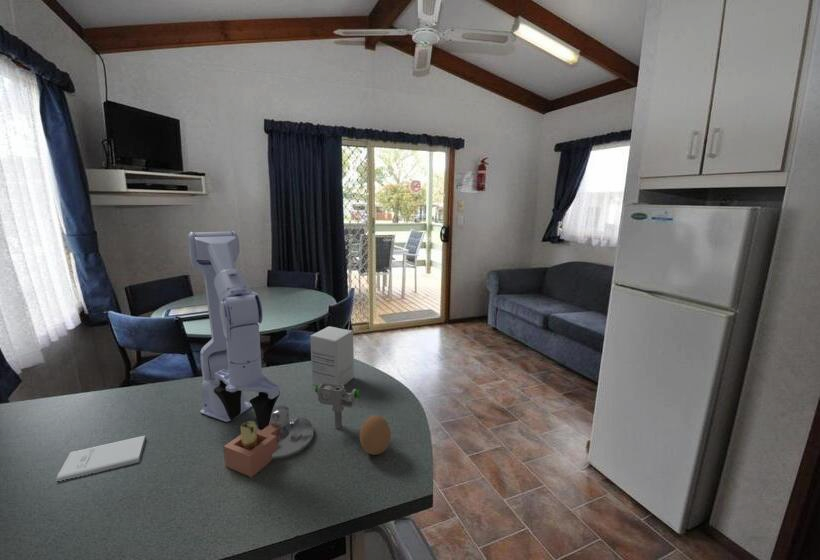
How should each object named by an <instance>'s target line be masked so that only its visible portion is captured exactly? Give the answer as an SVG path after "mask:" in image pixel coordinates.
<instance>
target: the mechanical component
mask: <svg viewBox="0 0 820 560" xmlns="http://www.w3.org/2000/svg"><path fill="white" fill-rule="evenodd" d="M332 387H333V388H334V389H333V388H332ZM314 391H315V393H317V400H318V401H319V403H320V404H323V405H327V406H329V405H330V406H332V408H331V410H332V411H333V412H334V428H335V430H339V429H341V427H342V425H343V423H342V422H343V416H342V414H343V413H342V411H344V409H345V408H352V407H353V406H354V405H355V403H356V401H358V399H359V398H360V396H361V391H360V390H358V389H357V388H353V389H352V391H351V392H348V391H346V388H345V385H344V386H343V385H337V384H329V383H322V384H321V385H320V386H318V385H315V389H314Z"/></svg>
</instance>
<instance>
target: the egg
mask: <svg viewBox="0 0 820 560" xmlns="http://www.w3.org/2000/svg"><path fill="white" fill-rule="evenodd" d="M359 431H360V432H359V443H360V446H361V447H362V449H363V450H364V451H365V452H366V453H367V454H370V455H373V456H377V455H380V454H382V453H384V452H385V451H386V450H387V448H388V447H389V446H390V443H391V436H392V433H391V429H390V426H389V423H388V422H387V420H386V419H385V418H384V417H383V416H381V415H376V414H375V415H371V416H369V417H368V418H366V419H365V421H364V422H363V423H362V425H361V428H360V430H359Z"/></svg>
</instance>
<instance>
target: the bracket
mask: <svg viewBox="0 0 820 560" xmlns="http://www.w3.org/2000/svg"><path fill="white" fill-rule="evenodd" d="M256 431H257V446H256V447H255V448H253V449H252V450H251V451H249V450H247V449H244V448H242V440H241V434H239V435H237V436H236V438H234V439H232V440H231V441H229V442H228V443H226V444H225V445H223V451H224V462H225V467H226V468H228V469H230V470H233V471H236V472H238V473H240V474H243V475H246V476H247V477H251V478H253V477H254V476H256V474H258V473H259V472H260V471H261V470H262V469H263V468H265V467H266V466H267V465H268V464H269V463H271V461H273V460H272V454H273V453H275V452H276V451H277V442H278V441H279V440H280V439H281V434H280V427H274V426H272V425H270V423H269V425H268V426H267V427H266V428H264V429H263V430H258V429H256Z"/></svg>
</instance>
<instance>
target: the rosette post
mask: <svg viewBox="0 0 820 560" xmlns="http://www.w3.org/2000/svg"><path fill="white" fill-rule="evenodd" d="M270 425H272V426H274V427H280V434H281V439H280V440H279V441H278V442H277V451H276V452H275V453H273V454H272V461H276V460H282V459H285V458H286V459H287V458H289V457H293V456H295V455H297V454H298V453H301V452H302V451H303V450H305V449H306V448H307V447H308V446H309V445H310V444H311V442H312V440H313V438H314V426H313V423H312V422H311V421H310V420H308V419H307V418H305V417H302V416H298V415H294V414H293V415H290V408H289V407H288V406H286V405H282V404H281V405H277V406H274V407H273V410H272V414H271V418H270ZM256 429H258V426H257V424H256ZM258 430H259V429H258Z"/></svg>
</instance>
